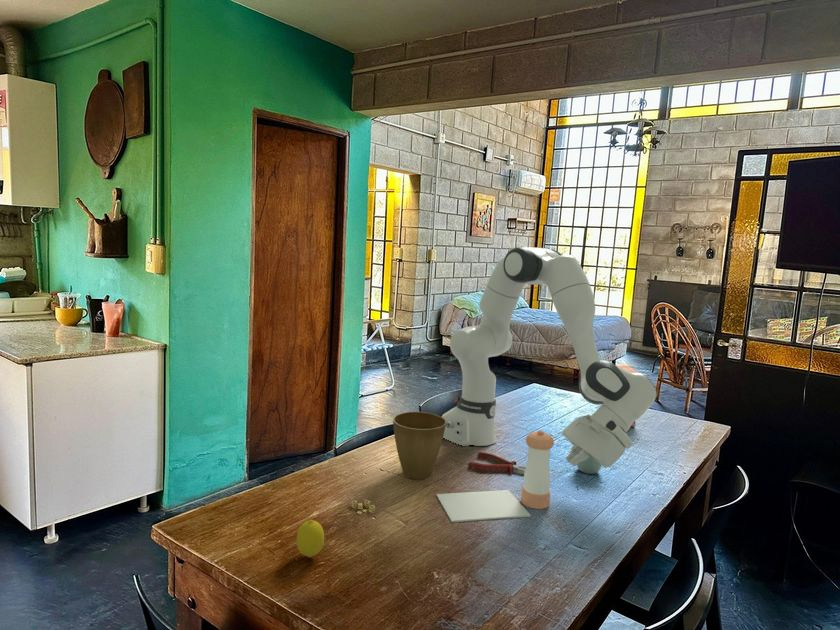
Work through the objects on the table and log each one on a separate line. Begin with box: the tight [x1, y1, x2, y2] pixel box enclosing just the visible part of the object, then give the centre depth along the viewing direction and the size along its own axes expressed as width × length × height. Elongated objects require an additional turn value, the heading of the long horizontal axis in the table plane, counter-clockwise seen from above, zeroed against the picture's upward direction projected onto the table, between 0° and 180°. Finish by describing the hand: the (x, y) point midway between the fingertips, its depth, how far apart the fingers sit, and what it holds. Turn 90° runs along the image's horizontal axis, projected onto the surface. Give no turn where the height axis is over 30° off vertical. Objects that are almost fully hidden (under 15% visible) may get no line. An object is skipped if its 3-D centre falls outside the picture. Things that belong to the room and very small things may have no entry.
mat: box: [435, 489, 531, 523], centre depth 139 cm, size 20×14×1 cm
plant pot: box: [392, 411, 446, 480], centre depth 156 cm, size 15×15×16 cm
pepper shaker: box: [520, 429, 555, 510], centre depth 141 cm, size 7×7×19 cm
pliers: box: [467, 451, 526, 475], centre depth 163 cm, size 12×20×3 cm, turn 67°
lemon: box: [296, 519, 325, 559], centre depth 112 cm, size 6×6×8 cm
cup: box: [576, 454, 603, 475], centre depth 164 cm, size 8×8×10 cm
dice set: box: [350, 499, 376, 515], centre depth 134 cm, size 5×5×2 cm
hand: (569, 462), depth 144 cm, fingers closed
